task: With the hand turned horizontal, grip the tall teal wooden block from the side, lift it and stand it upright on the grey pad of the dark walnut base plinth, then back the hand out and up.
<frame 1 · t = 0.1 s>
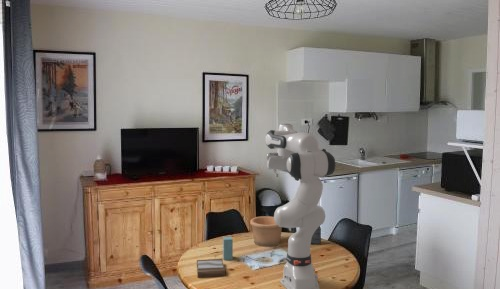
hand: (284, 176, 229), 48 cm above the table, tool pointing down, fingers open, 8 cm apart
teal block: (227, 258, 234), on the table
base plinth: (210, 270, 216), on the table
pottery: (266, 242, 262), on the table
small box: (312, 243, 261), on the table
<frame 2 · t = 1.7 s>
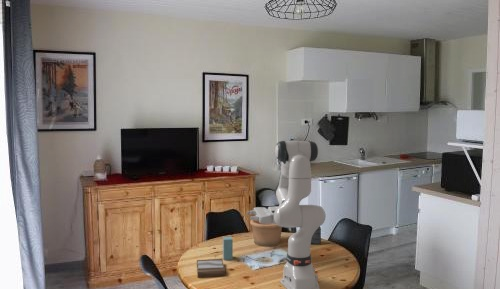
hand: (248, 215, 233), 25 cm above the table, tool horizontal, fingers open, 8 cm apart
nothing on the table moved.
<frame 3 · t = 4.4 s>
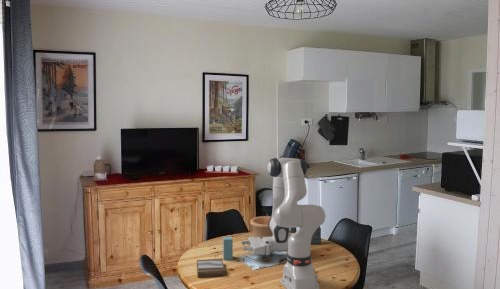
hand: (242, 245, 234), 7 cm above the table, tool horizontal, fingers open, 8 cm apart
nothing on the table moved.
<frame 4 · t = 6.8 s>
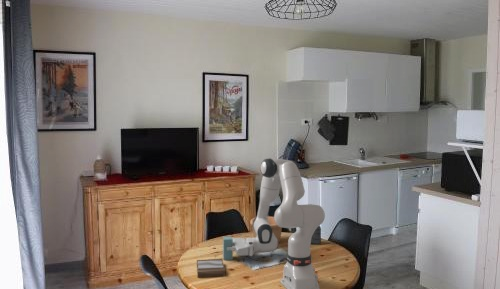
hand: (226, 246, 233), 7 cm above the table, tool horizontal, fingers closed on teal block, 5 cm apart
teal block: (227, 258, 234), on the table, touching gripper
everything else where it was.
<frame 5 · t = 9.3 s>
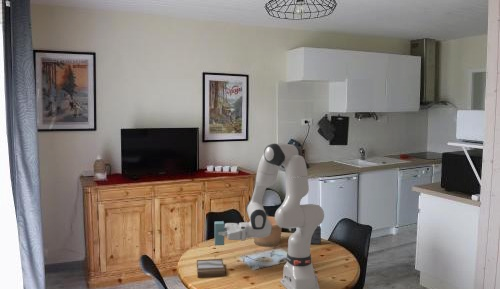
hand: (217, 231, 223), 19 cm above the table, tool horizontal, fingers closed on teal block, 5 cm apart
teal block: (219, 243, 224), point 12 cm above the table, touching gripper
everything else where it was.
when the fingers open (12 cm above the table, at t = 12.0 s): teal block drops 2 cm, resting on base plinth.
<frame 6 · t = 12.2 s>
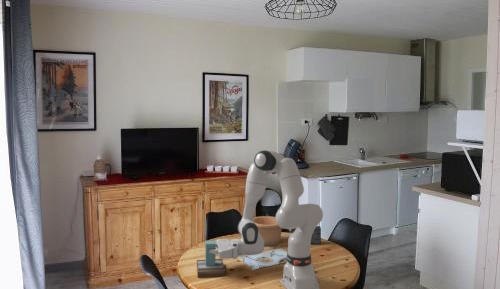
hand: (208, 248, 215), 12 cm above the table, tool horizontal, fingers open, 7 cm apart
teal block: (210, 264, 216), point 3 cm above the table, touching base plinth
everything else where it was.
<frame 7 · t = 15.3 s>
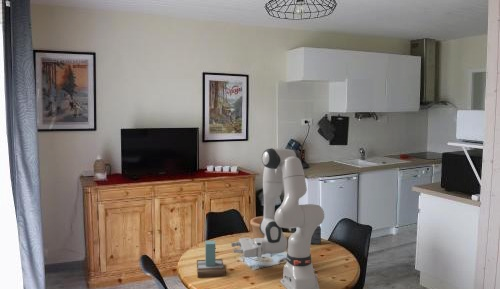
hand: (232, 247, 217), 12 cm above the table, tool horizontal, fingers open, 8 cm apart
nothing on the table moved.
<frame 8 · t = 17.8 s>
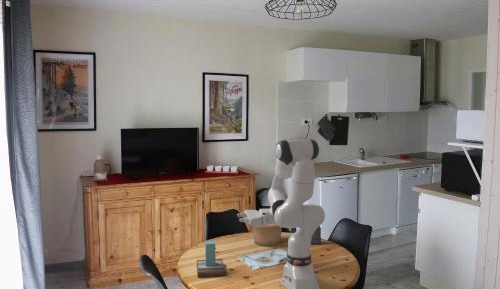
hand: (238, 217, 224), 26 cm above the table, tool horizontal, fingers open, 8 cm apart
nothing on the table moved.
at the end: teal block inside the target area on the base plinth (0.0 cm from its centre), point 3.4 cm above the base plinth's base; teal block tilted 0°; the gripper is holding nothing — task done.
